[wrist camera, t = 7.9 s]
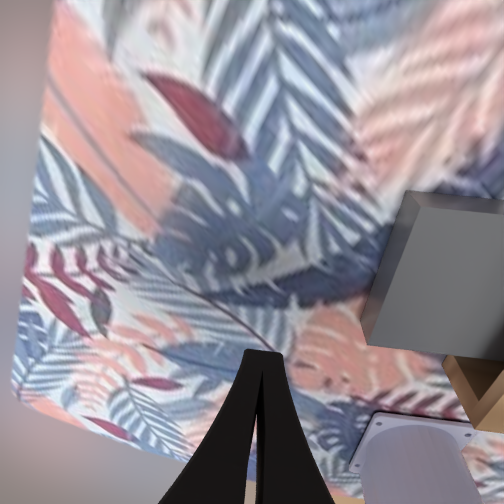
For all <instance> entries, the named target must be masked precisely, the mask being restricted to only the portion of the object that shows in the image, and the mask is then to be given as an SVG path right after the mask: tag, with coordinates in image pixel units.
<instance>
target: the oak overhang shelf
mask: <svg viewBox="0 0 504 504" xmlns="http://www.w3.org/2000/svg"><path fill="white" fill-rule="evenodd" d="M442 367H443V369H444V371H445V373H446V375H447V377H448V379H449V381H450V383H451V385H452V387H453V389H454V391H455V392H456V394H457V396H458V398H459V400H460V402H461V404H462V406H463V408H464V410H465V412H466V414H467V416H468V418H469V420H470V422H471V424H472V426H473V428H474V430H480V431H488V432H496V433H504V361H497V360H488V359H480V358H471V357H463V356H454V355H447V357H446V358H445V360H444V362H443V363H442Z"/></svg>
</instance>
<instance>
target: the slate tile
mask: <svg viewBox="0 0 504 504" xmlns="http://www.w3.org/2000/svg"><path fill="white" fill-rule="evenodd" d="M360 322H361V326H362V329H363V333H364V336H365V340H366V343H367V345H370V346H379V347H387V348H395V349H404V350H412V351H421V352H429V353H438V354H446V355H454V356H463V357H471V358H480V359H488V360H497V361H504V200H498V199H488V198H478V197H468V196H458V195H448V194H438V193H428V192H418V191H408V190H406V192H405V195H404V198H403V201H402V204H401V206H400V209H399V212H398V215H397V218H396V221H395V223H394V226H393V229H392V232H391V235H390V238H389V240H388V243H387V246H386V249H385V252H384V255H383V257H382V260H381V263H380V266H379V269H378V272H377V274H376V277H375V280H374V283H373V286H372V289H371V291H370V294H369V297H368V300H367V303H366V306H365V308H364V311H363V314H362V317H361V320H360Z"/></svg>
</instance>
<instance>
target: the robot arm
mask: <svg viewBox="0 0 504 504" xmlns="http://www.w3.org/2000/svg"><path fill="white" fill-rule="evenodd" d="M256 415H257V465H256V501H255V504H335V503H334V500H333V498H332V497H331V495H330V493H329V491H328V488H327V486H326V484H325V482H324V480H323V478H322V476H321V473H320V471H319V469H318V467H317V464H316V462H315V460H314V458H313V455H312V453H311V450H310V448H309V445H308V443H307V440H306V438H305V435H304V432H303V430H302V427H301V424H300V421H299V419H298V416H297V413H296V409H295V406H294V403H293V400H292V397H291V393H290V389H289V385H288V381H287V377H286V373H285V368H284V361H283V355H282V354H281V353H279V352H270V351H262V350H254V349H246V350H244V355H243V358H242V362H241V365H240V368H239V370H238V373H237V375H236V378H235V380H234V382H233V385H232V387H231V389H230V391H229V393H228V395H227V397H226V399H225V401H224V403H223V405H222V407H221V409H220V411H219V413H218V414H217V416H216V418H215V420H214V422H213V424H212V425H211V427H210V429H209V430H208V432H207V434H206V435H205V437H204V439H203V440H202V442H201V443H200V445H199V447H198V448H197V450H196V451H195V453H194V454H193V456H192V457H191V459H190V460H189V462H188V463H187V465H186V466H185V468H184V469H183V471H182V472H181V474H180V475H179V476H178V478H177V479H176V480H175V482H174V483H173V485H172V486H171V487H170V488H169V490H168V491H167V492H166V494H165V495H164V496H163V498H162V499H161V500H160V501H159V503H158V504H244V499H245V488H246V478H247V467H248V460H249V455H250V449H251V443H252V438H253V432H254V426H255V421H256ZM476 433H477V430H474V428H473V426H472V424H469V423H461V422H453V421H445V420H437V419H429V418H421V417H413V416H406V415H398V414H390V413H382V412H379V413H375V414H374V415H373V417H372V419H371V422H370V424H369V426H368V428H367V430H366V432H365V434H364V436H363V438H362V440H361V442H360V444H359V446H358V448H357V450H356V452H355V454H354V456H353V458H352V460H351V463H350V465H349V471H350V472H352V473H358V474H360V477H361V483H362V489H363V494H364V500H365V504H484V503H483V500H482V498H481V496H480V494H479V491H478V489H477V487H476V485H475V482H474V480H473V478H472V476H471V473H470V471H469V469H468V466H467V464H466V462H465V460H464V457H463V455H462V453H461V450H462V449H463V448H464V447H465V446H466V445H467V443H468V442H469V441H470V440H471V439H472V437H473V436H474V435H475V434H476Z"/></svg>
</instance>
